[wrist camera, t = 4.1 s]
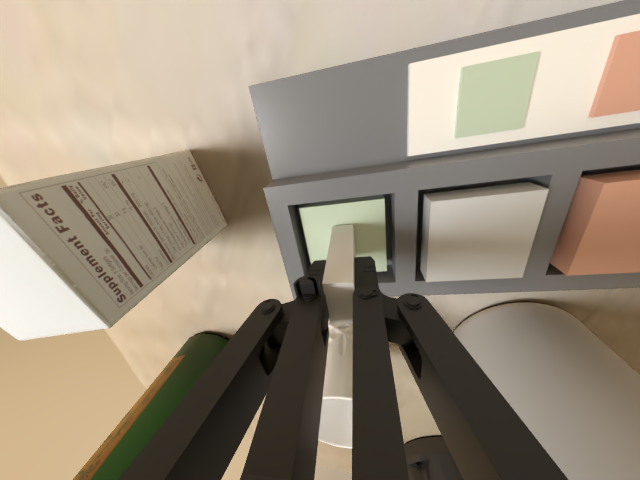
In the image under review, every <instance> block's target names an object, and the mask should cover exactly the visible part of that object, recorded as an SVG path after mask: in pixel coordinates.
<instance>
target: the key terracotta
mask: <svg viewBox="0 0 640 480" xmlns="http://www.w3.org/2000/svg"><path fill="white" fill-rule="evenodd" d="M550 264H552V265H553V266H554V267H556V268H557V269H559V270H560V271H561V272H563V273H564V274H565V275H567V276H569V275H591V274H613V273H634V272H640V169H638V170H630V171H621V172H612V173H603V174H594V175H586V176H580V179H579V182H578V185H577V188H576V190H575V193H574V196H573V199H572V202H571V204H570V207H569V210H568V213H567V216H566V218H565V221H564V224H563V227H562V230H561V232H560V235H559V238H558V241H557V244H556V246H555V249H554V252H553V255H552V258H551V260H550Z"/></svg>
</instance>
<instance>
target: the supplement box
mask: <svg viewBox="0 0 640 480" xmlns="http://www.w3.org/2000/svg"><path fill="white" fill-rule="evenodd" d="M226 226H227V223H226V220H225V218H224V216H223V214H222V212H221V210H220V208H219V206H218V204H217V202H216V200H215V198H214V197H213V194H212V192H211V190H210V188H209V187H208V185H207V183H206V181H205V179H204V177H203V175H202V173H201V171H200V169H199V167H198V165H197V163H196V161H195V159H194V157H193V156H192V154H191V152H190V151H189V150H185V151H180V152H176V153H171V154H166V155H162V156H157V157H152V158H147V159H142V160H137V161H132V162H126V163H121V164H116V165H111V166H106V167H101V168H96V169H91V170H86V171H81V172H75V173H70V174H65V175H60V176H55V177H50V178H45V179H40V180H36V181H31V182H26V183H22V184H17V185H13V186H8V187H4V188H0V327H1V328H2V329H4V330H5V331H6V332H8V333H9V334H11V335H12V336H13V337H15V338H16V339H18V340H21V341H22V340H28V339H35V338H42V337H49V336H56V335H63V334H70V333H76V332H84V331H92V330H99V329H107V328H110V327H112V326H113V325H114V324H115V323H116V322H117V321H118V320H119V319H121V318H122V317H123V316H124V315H125V314H126V313H127V312H129V311H130V310H131V309H132V308H133V307H135V306H136V305H137V304H138V303H139V302H140V301H141V300H142V299H144V298H145V297H146V296H147V295H148V294H149V293H150V292H151V291H153V290H154V289H155V288H156V287H157V286H158V285H160V284H161V283H162V282H163V281H164V280H165V279H167V278H168V277H169V276H170V275H171V274H172V273H174V272H175V271H176V270H177V269H178V268H179V267H180V266H182V265H183V264H184V263H185V262H186V261H187V260H188V259H190V258H191V257H192V256H193V255H194V254H195V253H196V252H198V251H199V250H200V249H201V248H202V247H203V246H204V245H206V244H207V243H208V242H209V241H210V240H211V239H212V238H213V237H215V236H216V235H217V234H218V233H219V232H220V231H221V230H222V229H224V228H225V227H226Z"/></svg>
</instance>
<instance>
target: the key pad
mask: <svg viewBox="0 0 640 480" xmlns="http://www.w3.org/2000/svg"><path fill="white" fill-rule="evenodd" d="M249 90H250V94H251V98H252V102H253V106H254V110H255V113H256V117H257V121H258V125H259V129H260V133H261V137H262V141H263V145H264V149H265V153H266V156H267V160H268V164H269V168H270V172H271V176H272V180H273V181H271V182H270V183H269V184H268V185H266V186H265V187H264V188H263V190H264V194H265V198H266V201H267V205H268V208H269V212H270V215H271V219H272V223H273V226H274V230H275V233H276V237H277V240H278V244H279V248H280V251H281V255H282V258H283V262H284V265H285V269H286V273H287V276H288V280H289V283H290V287H291V290H292V294H293V298H294V300H295V299H296V293H295V290H294V286H293V283H294V282H295V281H296V280H297V279H298V278H300V277H303V276H307V275H308V272H309V268H310V265H311V262H310V257H309V253H308V248H307V243H306V239H305V234H304V229H303V225H302V220H301V215H300V211H299V208H300V206H301V204H305V203H314V202H322V201H331V200H339V199H348V198H356V197H365V196H373V195H382V194H383V196H384V199H385V228H386V258H387V271H381V272H377V279H378V285H379V289H380V291H381V292H382V293H383V294H384V295H386V296H388V297H390V296H401V295H403V294H406V293H415V294H419V295H446V294H474V293H502V292H530V291H558V290H585V289H613V288H640V272H634V273H613V274H591V275H569V276H567V275H565V274H564V273H563V272H561V271H560V270H559V269H557V268H556V267H554V266H553V265H552V264H550V260H551V258H552V255H553V252H554V249H555V246H556V244H557V241H558V238H559V235H560V232H561V230H562V227H563V224H564V221H565V218H566V216H567V213H568V210H569V207H570V204H571V202H572V199H573V196H574V193H575V190H576V188H577V185H578V182H579V179H580V176H586V175H594V174H603V173H612V172H621V171H630V170H638V169H640V0H624V1H620V2H616V3H611V4H607V5H602V6H598V7H594V8H589V9H585V10H580V11H576V12H572V13H567V14H563V15H559V16H554V17H550V18H545V19H541V20H537V21H532V22H528V23H523V24H519V25H515V26H510V27H506V28H502V29H497V30H493V31H488V32H484V33H480V34H475V35H471V36H466V37H462V38H458V39H453V40H449V41H445V42H440V43H436V44H431V45H427V46H423V47H418V48H414V49H409V50H405V51H401V52H396V53H392V54H388V55H383V56H379V57H374V58H370V59H366V60H361V61H357V62H352V63H348V64H344V65H339V66H335V67H331V68H326V69H322V70H317V71H313V72H309V73H304V74H300V75H295V76H291V77H287V78H282V79H278V80H274V81H269V82H265V83H260V84H256V85H252V86H249ZM524 182H531V183H533V184H536V185H539V186H541V187H544V188H547V189H549V191H548V194H547V198H546V201H545V204H544V208H543V211H542V214H541V217H540V221H539V224H538V227H537V231H536V234H535V237H534V241H533V244H532V247H531V251H530V254H529V257H528V261H527V264H526V267H525V270H524V274H523V277H522V278H504V279H482V280H460V281H438V282H426V281H425V279H424V276H423V274H422V272H421V270H420V263H421V242H422V221H423V200H424V194H428V193H437V192H445V191H454V190H463V189H472V188H480V187H489V186H498V185H507V184H516V183H524Z"/></svg>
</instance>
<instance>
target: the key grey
mask: <svg viewBox="0 0 640 480" xmlns="http://www.w3.org/2000/svg"><path fill="white" fill-rule="evenodd" d="M548 191H549V189H547V188H544V187H541V186H539V185H536V184H533V183H531V182H524V183H516V184H507V185H498V186H489V187H480V188H472V189H463V190H454V191H445V192H437V193H428V194H424V200H423V221H422V242H421V263H420V270H421V272H422V274H423V276H424V279H425V281H426V282H438V281H460V280H482V279H504V278H522V277H523V274H524V270H525V267H526V264H527V261H528V257H529V254H530V251H531V247H532V244H533V241H534V237H535V234H536V231H537V227H538V224H539V221H540V217H541V214H542V211H543V208H544V204H545V201H546V198H547V194H548Z"/></svg>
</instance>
